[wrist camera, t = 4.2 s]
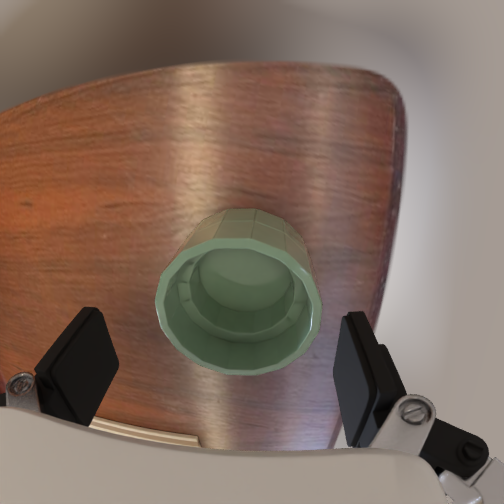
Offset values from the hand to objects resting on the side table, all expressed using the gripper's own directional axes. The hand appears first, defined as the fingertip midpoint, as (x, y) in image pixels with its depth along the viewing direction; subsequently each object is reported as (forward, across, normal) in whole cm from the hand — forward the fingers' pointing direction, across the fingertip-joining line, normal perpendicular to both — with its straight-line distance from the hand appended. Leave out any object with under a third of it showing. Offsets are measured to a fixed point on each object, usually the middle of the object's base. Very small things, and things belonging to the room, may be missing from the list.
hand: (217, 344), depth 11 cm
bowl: (+6, -1, 0) cm, 6 cm away
